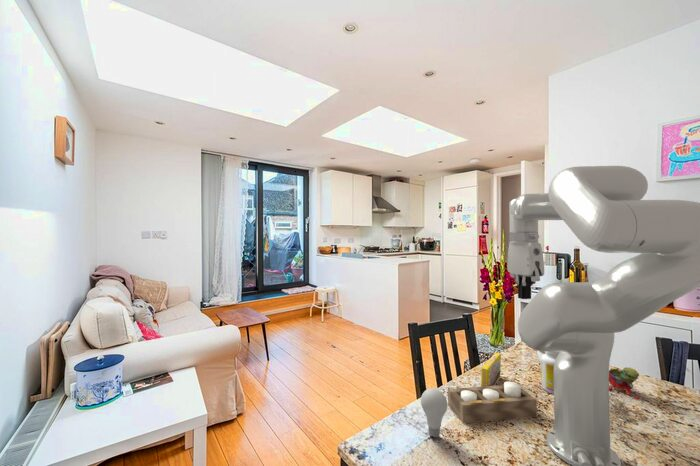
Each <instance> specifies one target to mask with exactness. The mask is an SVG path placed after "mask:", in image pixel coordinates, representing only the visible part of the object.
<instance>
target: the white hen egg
mask: <svg viewBox="0 0 700 466" xmlns="http://www.w3.org/2000/svg"><path fill="white" fill-rule="evenodd" d="M503 385H504V393H505V394H506V395H507V396H509V397H510V398H516V397H521V389H522V387H521V385H520V384H519V383H516V382H513V381H504V383H503Z"/></svg>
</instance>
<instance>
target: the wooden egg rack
mask: <svg viewBox="0 0 700 466" xmlns="http://www.w3.org/2000/svg"><path fill="white" fill-rule="evenodd" d="M483 389H493V390H495V391H497V392H498V393H499V399H491V400H488V399H487V398H485V397H484V396H483ZM463 390H468V391H472V392H474V393H475V394H476V395H477V400H476V401H467V402H465V401H464V400H463V399H462V398H461V391H463ZM537 400H538V399H537V398H535V397H534V396H533V395H532V394H530V393H528V392H527V391H526V390H524V389H523V388H521V397H516V398H510V397H509V396H507V395H506V394H505V393H504V384H500V385H498V384H497V385H494V386H483V387H481V386H474V387H473V386H471V387H461V388H460V387H459V388H457V387H456V388H447V407H449V408H450V409H451V410H452V412H453V413H454V414H455V415H456V417H457V418H458V420H459V421H461V423H462V424H470V423H479V422H480V423H481V422H490V421H499V420H500V421H501V420H502V421H503V420H511V419H512V420H513V419H522V418H523V419H524V418H533V417H534V418H535V417H537V416H538V411H537V409H538V408H537V405H538V404H537V403H538V402H537Z"/></svg>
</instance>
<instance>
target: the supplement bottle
mask: <svg viewBox="0 0 700 466" xmlns="http://www.w3.org/2000/svg"><path fill="white" fill-rule="evenodd" d="M559 353H560V352H549V351H545V354H544V355H542V356H541V363H540V367H541V368H540V369H541V371H540V372H541V373H540V374H541V375H540V376H541V379H540V380H541V388H542V389H543V391H545V392H547V393H549V394H551V395H554V363H555V360H556V358H557V356H558V354H559Z"/></svg>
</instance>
